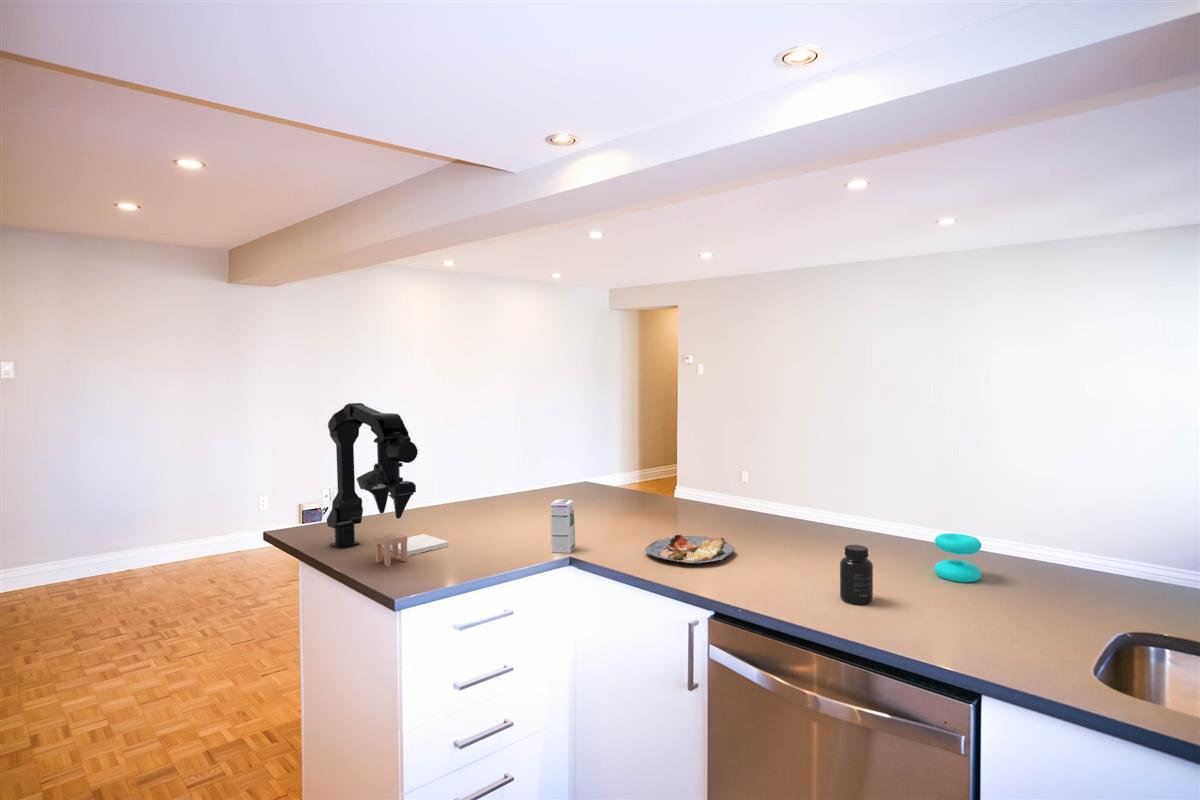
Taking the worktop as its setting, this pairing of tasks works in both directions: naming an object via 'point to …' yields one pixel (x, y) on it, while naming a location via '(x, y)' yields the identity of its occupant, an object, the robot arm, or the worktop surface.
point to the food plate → (691, 549)
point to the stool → (386, 542)
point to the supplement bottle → (856, 576)
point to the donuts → (957, 568)
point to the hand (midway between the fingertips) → (389, 515)
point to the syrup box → (562, 526)
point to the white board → (422, 544)
